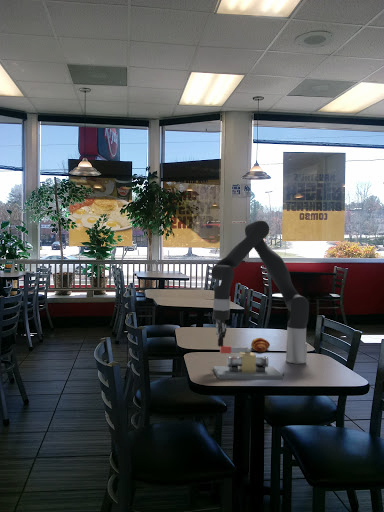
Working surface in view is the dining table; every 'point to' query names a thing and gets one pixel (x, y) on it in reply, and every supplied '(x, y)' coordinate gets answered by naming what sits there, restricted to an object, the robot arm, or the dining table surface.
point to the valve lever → (234, 349)
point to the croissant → (260, 344)
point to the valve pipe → (247, 363)
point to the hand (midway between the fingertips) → (220, 346)
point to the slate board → (225, 373)
